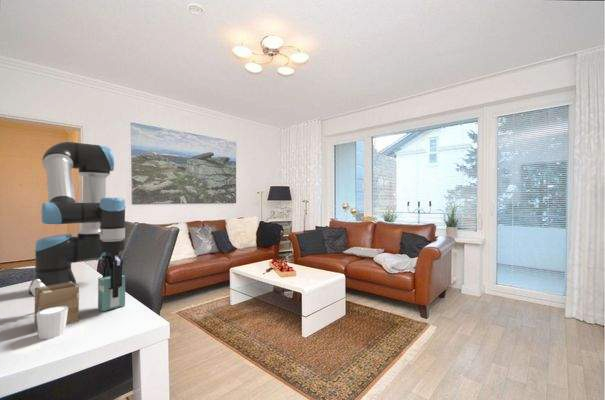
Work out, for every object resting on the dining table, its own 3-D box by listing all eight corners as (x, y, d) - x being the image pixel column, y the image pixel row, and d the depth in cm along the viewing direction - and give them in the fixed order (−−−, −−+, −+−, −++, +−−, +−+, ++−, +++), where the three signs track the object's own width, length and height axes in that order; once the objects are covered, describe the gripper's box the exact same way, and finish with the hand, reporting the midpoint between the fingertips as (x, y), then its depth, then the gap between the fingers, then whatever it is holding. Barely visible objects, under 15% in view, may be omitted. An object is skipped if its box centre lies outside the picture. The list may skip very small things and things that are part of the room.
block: (97, 308, 97) (98, 277, 97) (120, 302, 102) (120, 273, 103) (102, 311, 94) (102, 280, 94) (125, 305, 100) (125, 275, 100)
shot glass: (49, 329, 82) (50, 305, 82) (74, 328, 82) (74, 305, 82) (28, 340, 75) (29, 315, 75) (55, 339, 75) (55, 314, 75)
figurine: (46, 315, 91) (47, 279, 91) (29, 319, 88) (29, 282, 89) (46, 309, 96) (46, 275, 96) (29, 312, 93) (29, 277, 94)
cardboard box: (34, 322, 86) (34, 287, 86) (71, 313, 93) (71, 281, 93) (40, 331, 80) (40, 293, 80) (78, 320, 87) (79, 286, 87)
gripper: (92, 238, 101) (91, 301, 101) (108, 243, 90) (107, 314, 90) (115, 236, 107) (115, 296, 107) (133, 241, 96) (132, 307, 96)
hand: (111, 304), depth 98 cm, fingers closed on block, 4 cm apart
